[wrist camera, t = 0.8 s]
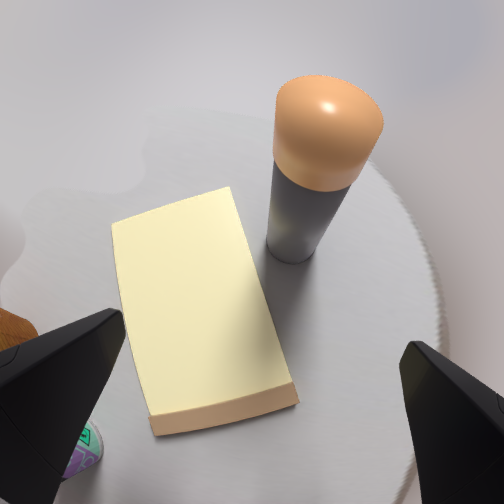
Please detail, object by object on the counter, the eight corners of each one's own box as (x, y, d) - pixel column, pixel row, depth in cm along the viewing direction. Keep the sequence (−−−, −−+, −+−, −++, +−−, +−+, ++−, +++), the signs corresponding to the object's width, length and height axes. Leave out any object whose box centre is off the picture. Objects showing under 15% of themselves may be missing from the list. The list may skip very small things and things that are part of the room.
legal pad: (297, 399, 18) (299, 402, 17) (159, 432, 17) (154, 435, 16) (229, 189, 24) (228, 182, 23) (113, 226, 23) (108, 221, 22)
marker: (324, 256, 22) (402, 139, 9) (275, 271, 22) (303, 156, 8) (306, 210, 23) (350, 73, 10) (258, 223, 23) (261, 81, 10)
